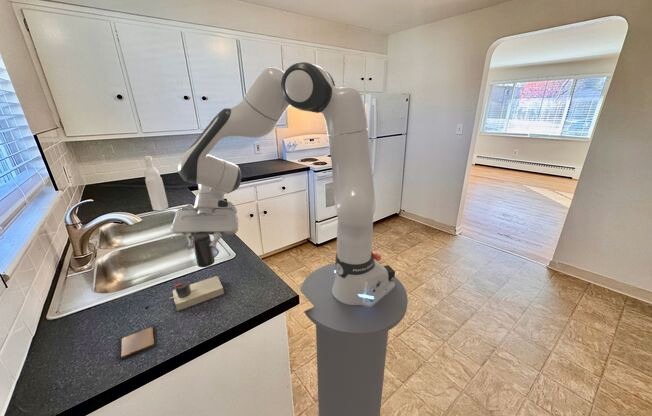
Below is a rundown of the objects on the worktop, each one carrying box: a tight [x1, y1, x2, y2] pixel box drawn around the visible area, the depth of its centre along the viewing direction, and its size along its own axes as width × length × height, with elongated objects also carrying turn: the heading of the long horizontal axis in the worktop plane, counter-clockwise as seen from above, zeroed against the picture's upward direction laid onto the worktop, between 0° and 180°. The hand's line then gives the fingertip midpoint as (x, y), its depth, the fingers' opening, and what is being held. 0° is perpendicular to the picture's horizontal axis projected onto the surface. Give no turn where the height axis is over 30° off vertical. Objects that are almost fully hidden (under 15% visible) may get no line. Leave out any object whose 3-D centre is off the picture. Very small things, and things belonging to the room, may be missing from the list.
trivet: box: [120, 326, 155, 359], centre depth 71 cm, size 7×7×1 cm
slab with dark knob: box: [169, 275, 225, 312], centre depth 87 cm, size 15×8×3 cm, turn 124°
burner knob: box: [174, 280, 191, 298], centre depth 84 cm, size 4×4×4 cm
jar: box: [192, 232, 216, 268], centre depth 84 cm, size 5×5×10 cm
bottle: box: [144, 155, 161, 179], centre depth 166 cm, size 8×8×30 cm
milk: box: [144, 173, 169, 212], centre depth 158 cm, size 6×6×22 cm
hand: (202, 247), depth 83 cm, fingers closed on jar, 5 cm apart
